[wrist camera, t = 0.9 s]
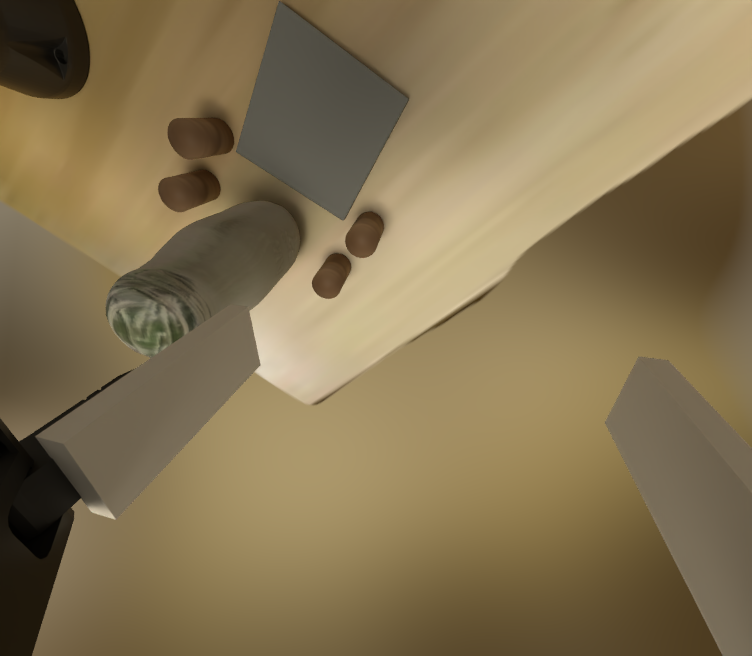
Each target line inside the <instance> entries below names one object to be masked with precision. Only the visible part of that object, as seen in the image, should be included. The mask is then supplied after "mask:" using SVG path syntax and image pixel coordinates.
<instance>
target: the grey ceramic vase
mask: <svg viewBox="0 0 752 656" xmlns="http://www.w3.org/2000/svg"><path fill="white" fill-rule="evenodd" d="M299 248H300V233H299V229H298V226H297V224H296V222H295V220H294V219H293V217H292V216H291V214H290V213H289V212H288V211H287V210H286V209H285V208H283V207H282V206H279V205H277V204H274V203H272V202H269V201H252V202H245V203H241V204H238V205H236V206H233V207H231V208H229V209H227V210H224V211H222V212H220V213H217V214H214V215H212V216H209V217H206V218H204V219H201V220H198V221H196V222H194V223H192V224H190V225H188V226H186V227H185V228H183V229H181V230H180V231H179V232H177V233H176V234H175V235H174V236H173V237H172V238H171V239H170V240H169V241H168V242H167V243H166V244H165V245H164V246H163V247H162V248H161V249H160V250H159V251H158V252H157V253H156V254H155V256H154V257H153V258H152V259H151V260H150V261H148V262H147V263H146V264H144V265H143V266H141V267H140V268H138V269H137V270H133V271H131V272H129V273H127V274H125V275H124V276H122V277H121V278H120V279H118V280H117V281H116V282H115V284H114V285H113V286H112V288H111V290H110V292H109V293H108V297H107V300H106V316H107V319H108V321H109V324H110V326H111V327H112V330H113V331H114V333H115V334H116V335H117V336H118V338H120V339H121V341H122V342H124V343H125V344H126V345H127V346H128V347H129V348H131V349H132V350H134V351H135V352H138V353H140V354H143V355H145V356H148V357H150V358H152V357H153V356H155V355H156V354H158V353H159V352H161V351H162V350H164V349H165V348H167V347H168V346H170V345H171V344H173V343H174V342H175V341H177V340H178V339H180V338H181V337H183V336H184V335H186V334H187V333H189V332H190V331H192V330H193V329H195V328H196V327H198V326H199V325H201V324H202V323H204V322H205V321H207V320H208V319H210V318H211V317H212V316H214V315H215V314H217V313H218V312H220V311H221V310H223V309H224V308H226V307H227V306H229V305H230V304H232V305H240V306H248V308H249V311H250V310H251V309H253V308H254V307H255V306H256V305H258V304H259V303H260V302H261V301H262V300H263V299H264V297H265V296H266V295H267V294H268V293H269V292H270V291H271V290H272V288H273V287H274V286H275V285H276V284H277V282H278V281H279V280H280V279H281V278H282V277H283V276H284V274H285V273H286V272H287V271H288V270H289V269H290V268H291V266H292V265H293V263H294V262H295V260H296V258H297V255H298V252H299Z"/></svg>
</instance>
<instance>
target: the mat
mask: <svg viewBox="0 0 752 656" xmlns="http://www.w3.org/2000/svg"><path fill="white" fill-rule="evenodd" d="M408 100H409V99H408V98H407V97H405V96H404V95H403V94H401V93H400V92H399V91H397V90H396V89H395V88H393V87H392V86H391V85H389V84H388V83H387V82H386V81H384V80H383V79H382V78H380V77H379V76H378V75H376V74H375V73H374V72H372V71H371V70H370V69H368V68H367V67H366V66H364V65H363V64H362V63H361V62H359V61H358V60H357V59H355V58H354V57H353V56H351V55H350V54H349V53H347V52H346V51H345V50H343V49H342V48H341V47H339V46H338V45H337V44H336V43H334V42H333V41H332V40H330V39H329V38H328V37H326V36H325V35H324V34H322V33H321V32H320V31H318V30H317V29H316V28H314V27H313V26H312V25H311V24H309V23H308V22H307V21H305V20H304V19H303V18H301V17H300V16H299V15H297V14H296V13H295V12H293V11H292V10H291V9H289V8H288V7H287V6H286V5H284V4H283V3H282V2H280V1H279V3H278V6H277V10H276V13H275V17H274V20H273V24H272V27H271V31H270V34H269V38H268V41H267V45H266V48H265V52H264V55H263V59H262V62H261V66H260V69H259V73H258V76H257V80H256V83H255V87H254V90H253V94H252V97H251V101H250V104H249V108H248V111H247V115H246V118H245V122H244V125H243V129H242V132H241V136H240V139H239V143H238V146H237V150H236V152H237V153H239V154H240V155H242V156H243V157H245V158H246V159H248V160H249V161H251V162H253V163H254V164H256V165H257V166H259V167H260V168H262V169H263V170H265V171H267V172H268V173H270V174H271V175H273V176H274V177H276V178H277V179H279V180H281V181H282V182H284V183H285V184H287V185H288V186H290V187H291V188H293V189H294V190H296V191H298V192H299V193H301V194H302V195H304V196H305V197H307V198H308V199H310V200H312V201H313V202H315V203H316V204H318V205H319V206H321V207H322V208H324V209H326V210H327V211H329V212H330V213H332V214H333V215H335V216H336V217H338V218H340V219H341V220H343V221H344V219H345V218H346V216H347V214H348V212H349V210H350V208H351V207H352V205H353V203H354V201H355V199H356V197H357V195H358V194H359V192H360V190H361V188H362V186H363V184H364V182H365V181H366V179H367V177H368V175H369V173H370V171H371V169H372V167H373V166H374V164H375V162H376V160H377V158H378V156H379V154H380V153H381V151H382V149H383V147H384V145H385V143H386V141H387V140H388V138H389V136H390V134H391V132H392V130H393V128H394V126H395V125H396V123H397V121H398V119H399V117H400V115H401V113H402V112H403V110H404V108H405V106H406V104H407V102H408Z"/></svg>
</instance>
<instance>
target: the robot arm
mask: <svg viewBox="0 0 752 656" xmlns="http://www.w3.org/2000/svg"><path fill="white" fill-rule="evenodd" d="M88 68H89V50H88V43H87V38H86V34H85V30H84V27H83V24H82V20H81V18H80V15H79V13H78V10H77V8H76V6H75V4H74V2H73V0H0V85H1V86H4V87H7V88H9V89H12V90H15V91H17V92H20V93H23V94H26V95H29V96H32V97H37V98H49V99H64V98H68V97H71V96H73V95H75V94H76V93H77V92H78V91H79V90H80V89H81V88H82V86H83V85H84V83H85V81H86V78H87V74H88ZM259 366H260V361H259V356H258V351H257V346H256V341H255V337H254V332H253V327H252V322H251V317H250V313H249V308H248V306H240V305H232V304H230V305H229V306H227V307H226V308H224V309H223V310H221V311H220V312H218V313H217V314H215V315H214V316H212V317H211V318H210V319H208V320H207V321H205V322H204V323H202V324H201V325H199V326H198V327H196V328H195V329H193V330H192V331H190V332H189V333H187V334H186V335H184V336H183V337H181V338H180V339H178V340H177V341H175V342H174V343H173V344H171V345H170V346H168V347H167V348H165V349H164V350H162V351H161V352H159V353H158V354H156V355H155V356H153V357H152V358H150V359H149V360H147V361H146V362H145V363H143V364H141V365H140V366H139V367H137V368H135V369H133V370H131V371H129V372H127V373H124V374H122V375H120V376H118V377H116V378H115V379H113V380H112V381H111V382H109V383H107V384H106V385H104V386H103V387H101V390H97V391H95V392H94V393H92V394H91V395H89V396H88V397H87V399H86V400H82V401H80V402H79V403H77V404H76V405H75V406H73V407H71V408H70V409H68V410H67V411H65V412H64V413H62V414H61V415H59V416H58V417H56V418H55V419H53V420H52V421H50V422H49V423H47V424H46V425H44V426H43V427H41V428H40V429H38V430H37V431H35V432H34V433H32V434H31V435H29V436H28V437H26V438H24V439H23V440H21V441H18V440H17V439H16V438H15V437H14V435H13V434H12V433H11V432H10V430H9V429H8V428H7V426H6V425H5V424H4V422H3V421H2V420H1V419H0V656H32V653H33V650H34V647H35V643H36V640H37V637H38V634H39V630H40V627H41V624H42V621H43V618H44V614H45V611H46V608H47V604H48V601H49V598H50V595H51V592H52V588H53V585H54V582H55V579H56V575H57V572H58V569H59V566H60V563H61V559H62V556H63V553H64V549H65V546H66V543H67V540H68V536H69V534H70V530H71V527H72V524H73V521H74V511H73V510H72V508H71V507H72V506H73V505H74V504H75V503H76V502H77V501H78V500H79V499H80V498H82V500H83V501H84V503H85V504H86V505H87V507H88V508H89V509H90V511H91V512H93V513H96V514H99V515H102V516H106V517H109V518H112V519H115V520H116V519H117V518H118V517H119V516H120V515H121V514H122V513H123V512H124V511H125V509H127V507H128V506H129V505H130V504H131V503H132V502H133V501H134V500H135V499H136V498H137V497H138V496H139V495H140V493H141V492H142V491H143V490H144V489H145V488H146V487H147V486H148V485H149V484H150V483H151V482H152V481H153V480H154V479H155V477H156V476H157V475H158V474H159V473H160V472H161V471H162V470H163V469H164V468H165V467H166V466H167V465H168V464H169V462H170V461H171V460H172V459H173V458H174V457H175V456H176V455H177V454H178V453H179V452H180V451H181V450H182V449H183V447H184V446H185V445H186V444H187V443H188V442H189V441H190V440H191V439H192V438H193V436H195V435H196V433H197V432H198V431H199V430H200V429H201V428H202V427H203V426H204V425H205V424H206V423H207V422H208V421H209V420H210V418H211V417H212V416H213V415H214V414H215V413H216V412H217V411H218V410H219V409H220V408H221V407H222V406H223V404H225V402H226V401H227V400H228V399H229V398H230V397H231V396H232V395H233V394H234V393H235V392H236V390H238V388H239V387H240V386H241V385H242V384H243V383H244V382H245V381H246V380H247V379H248V378H249V377H250V376H251V374H253V372H254V371H255V370H256V369H257V368H258V367H259ZM605 424H606V426H607V428H608V430H609V432H610V434H611V435H612V438H613V440H614V441H615V443H616V446H617V448H618V450H619V452H620V453H621V456H622V458H623V460H624V462H625V464H626V465H627V467H628V469H629V471H630V473H631V475H632V477H633V479H634V481H635V483H636V485H637V487H638V489H639V491H640V493H641V495H642V497H643V499H644V501H645V503H646V505H647V507H648V509H649V511H650V513H651V515H652V517H653V519H654V521H655V523H656V525H657V527H658V529H659V531H660V533H661V535H662V536H663V539H664V541H665V543H666V545H667V547H668V548H669V550H670V552H671V554H672V556H673V558H674V560H675V562H676V564H677V566H678V568H679V570H680V572H681V574H682V576H683V578H684V580H685V582H686V584H687V586H688V588H689V590H690V592H691V594H692V596H693V598H694V600H695V602H696V604H697V606H698V608H699V610H700V612H701V614H702V616H703V618H704V620H705V621H706V624H707V625H708V627H709V629H710V631H711V633H712V635H713V637H714V639H715V641H716V643H717V645H718V647H719V649H720V651H721V653H722V655H723V656H752V448H751V447H750V446H749V445H748V444H747V443H746V442H745V441H744V440H743V439H742V438H741V436H740V435H739V434H738V433H737V432H736V431H735V430H734V429H733V428H732V427H731V426H730V425H729V424H728V423H727V422H726V421H725V420H724V419H723V418H722V417H721V415H720V414H719V413H718V412H717V411H716V410H715V409H714V408H713V407H712V406H711V405H710V404H709V403H708V402H707V401H706V400H705V398H704V397H703V396H702V395H701V394H700V393H699V392H698V391H697V390H696V389H695V388H694V387H693V386H692V385H691V384H690V383H689V382H688V381H687V380H686V378H685V377H684V376H683V375H682V374H681V373H680V372H679V371H678V370H677V369H676V368H675V367H674V366H673V365H672V364H671V363H670V362H669V361H668V360H661V359H654V358H646V357H638V359H637V361H636V363H635V365H634V367H633V369H632V371H631V373H630V375H629V377H628V378H627V380H626V382H625V384H624V386H623V388H622V390H621V392H620V394H619V396H618V398H617V400H616V402H615V404H614V406H613V408H612V410H611V412H610V413H609V415H608V418H607V419H606V421H605Z"/></svg>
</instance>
